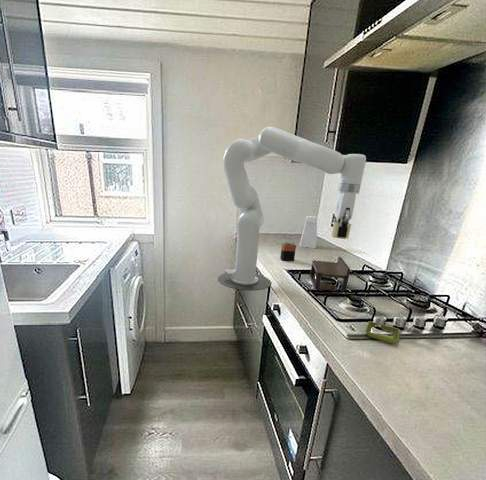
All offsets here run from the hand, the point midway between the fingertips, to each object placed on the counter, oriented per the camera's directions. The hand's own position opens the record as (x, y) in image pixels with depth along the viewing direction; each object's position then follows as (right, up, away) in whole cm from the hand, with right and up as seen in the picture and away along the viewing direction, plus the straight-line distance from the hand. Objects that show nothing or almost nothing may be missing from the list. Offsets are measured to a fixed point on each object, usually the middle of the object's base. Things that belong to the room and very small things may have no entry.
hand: (339, 235), depth 120 cm
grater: (+15, +4, +87) cm, 88 cm away
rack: (-1, -20, +13) cm, 24 cm away
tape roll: (0, -1, 0) cm, 1 cm away
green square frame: (0, -35, -29) cm, 45 cm away
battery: (-9, -8, +49) cm, 51 cm away
